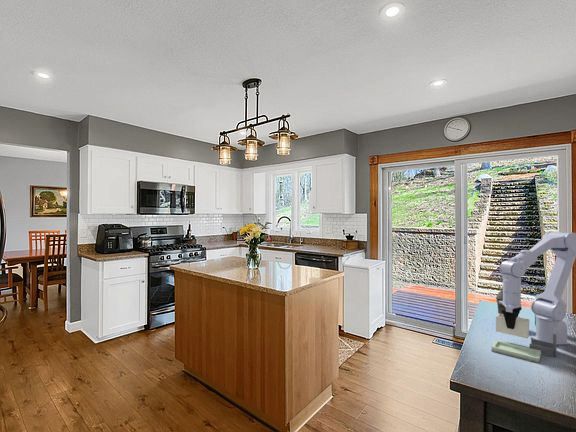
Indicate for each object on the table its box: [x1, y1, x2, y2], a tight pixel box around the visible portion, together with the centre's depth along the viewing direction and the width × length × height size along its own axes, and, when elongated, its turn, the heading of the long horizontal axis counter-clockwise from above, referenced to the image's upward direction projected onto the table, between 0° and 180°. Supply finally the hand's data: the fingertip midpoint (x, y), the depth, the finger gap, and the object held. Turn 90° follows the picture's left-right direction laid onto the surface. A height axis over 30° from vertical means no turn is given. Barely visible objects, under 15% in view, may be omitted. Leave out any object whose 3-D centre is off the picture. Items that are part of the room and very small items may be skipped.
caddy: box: [495, 312, 530, 339], centre depth 121 cm, size 10×5×6 cm, turn 48°
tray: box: [491, 340, 542, 364], centre depth 112 cm, size 14×9×2 cm, turn 48°
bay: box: [529, 328, 557, 358], centre depth 114 cm, size 7×8×8 cm
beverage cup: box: [495, 290, 505, 314], centre depth 142 cm, size 7×7×20 cm
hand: (511, 326), depth 121 cm, fingers closed on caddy, 5 cm apart
